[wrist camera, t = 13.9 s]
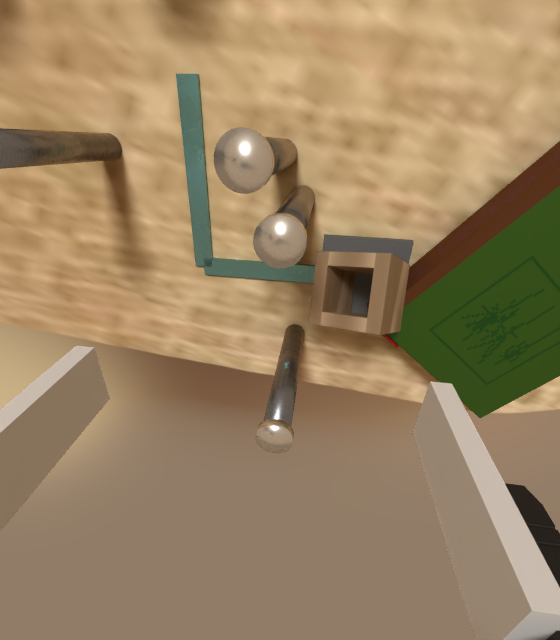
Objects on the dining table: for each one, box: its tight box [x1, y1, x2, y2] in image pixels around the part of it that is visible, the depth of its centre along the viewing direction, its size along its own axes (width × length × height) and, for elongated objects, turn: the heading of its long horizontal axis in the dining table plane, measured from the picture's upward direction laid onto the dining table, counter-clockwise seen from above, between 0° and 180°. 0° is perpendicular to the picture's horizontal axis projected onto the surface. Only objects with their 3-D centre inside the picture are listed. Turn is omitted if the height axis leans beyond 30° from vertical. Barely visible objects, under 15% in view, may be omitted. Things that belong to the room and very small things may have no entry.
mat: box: [323, 234, 413, 315], centre depth 35 cm, size 9×9×1 cm
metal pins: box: [0, 74, 315, 453], centre depth 28 cm, size 24×28×17 cm
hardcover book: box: [367, 142, 560, 418], centre depth 32 cm, size 25×19×4 cm
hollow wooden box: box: [309, 251, 410, 335], centre depth 30 cm, size 6×6×7 cm
